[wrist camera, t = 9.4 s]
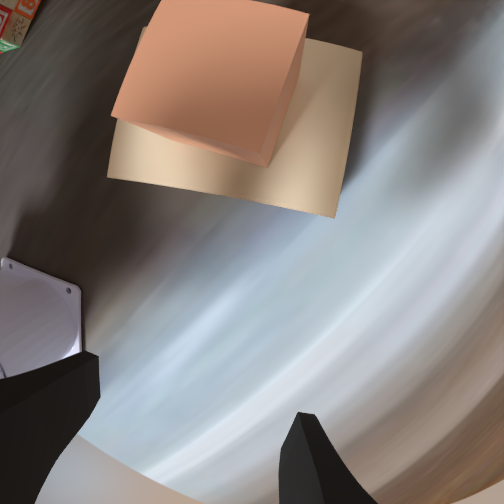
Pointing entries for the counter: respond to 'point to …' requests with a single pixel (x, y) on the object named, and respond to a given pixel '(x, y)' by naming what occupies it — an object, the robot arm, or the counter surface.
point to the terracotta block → (216, 75)
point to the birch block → (285, 151)
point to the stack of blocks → (15, 22)
